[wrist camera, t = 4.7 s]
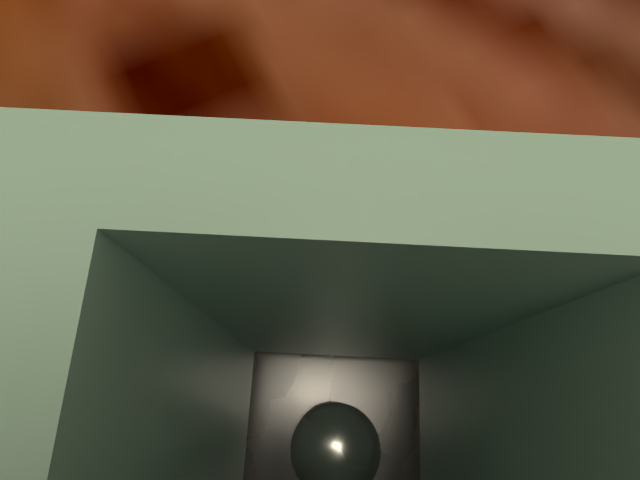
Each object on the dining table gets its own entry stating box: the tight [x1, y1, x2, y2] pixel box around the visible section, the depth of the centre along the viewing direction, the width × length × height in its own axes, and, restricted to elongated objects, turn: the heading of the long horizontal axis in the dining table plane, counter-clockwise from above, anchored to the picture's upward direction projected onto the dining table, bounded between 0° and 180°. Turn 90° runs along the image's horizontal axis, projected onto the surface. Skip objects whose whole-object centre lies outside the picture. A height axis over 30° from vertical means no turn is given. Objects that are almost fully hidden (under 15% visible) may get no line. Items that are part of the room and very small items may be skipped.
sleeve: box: [0, 107, 640, 480], centre depth 8 cm, size 6×6×10 cm
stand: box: [243, 351, 420, 480], centre depth 13 cm, size 10×10×5 cm
